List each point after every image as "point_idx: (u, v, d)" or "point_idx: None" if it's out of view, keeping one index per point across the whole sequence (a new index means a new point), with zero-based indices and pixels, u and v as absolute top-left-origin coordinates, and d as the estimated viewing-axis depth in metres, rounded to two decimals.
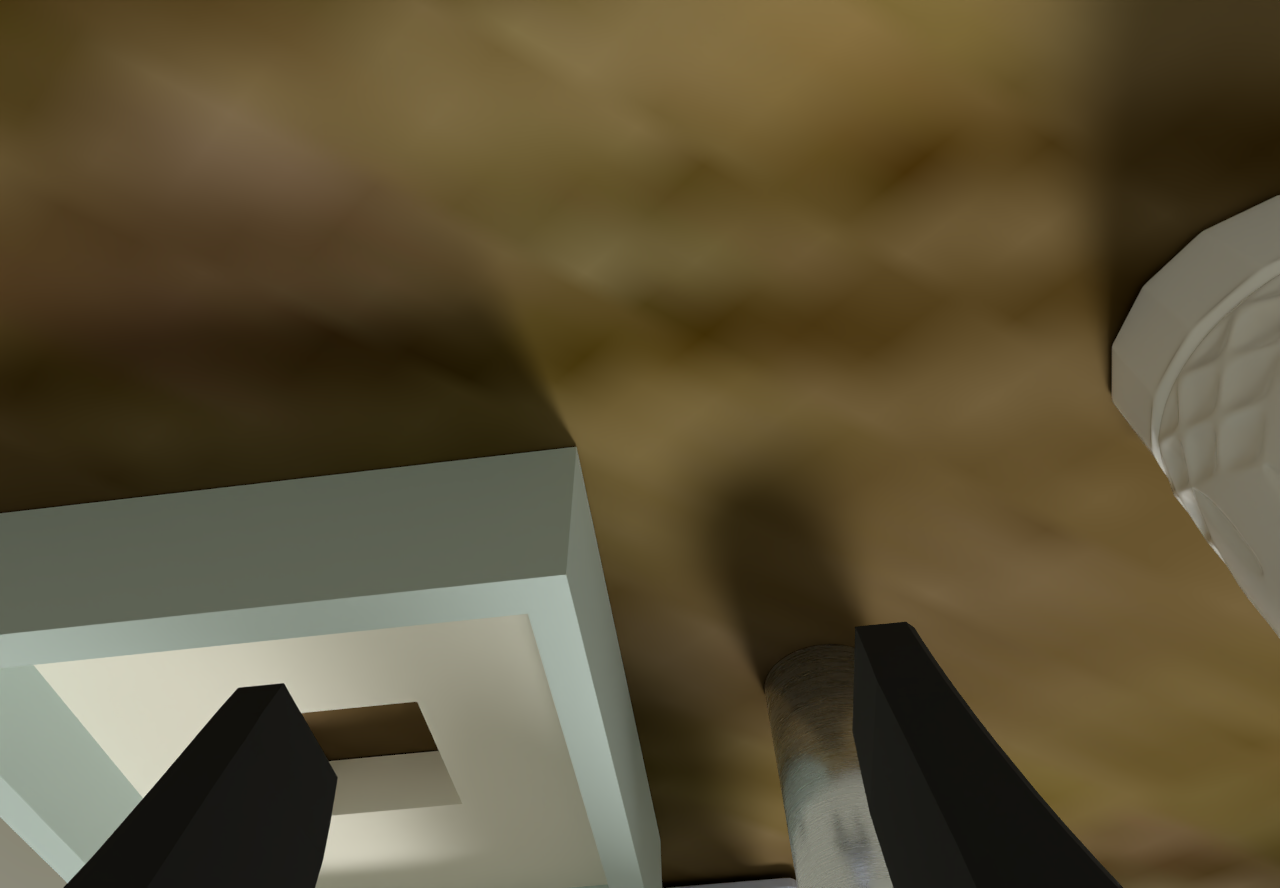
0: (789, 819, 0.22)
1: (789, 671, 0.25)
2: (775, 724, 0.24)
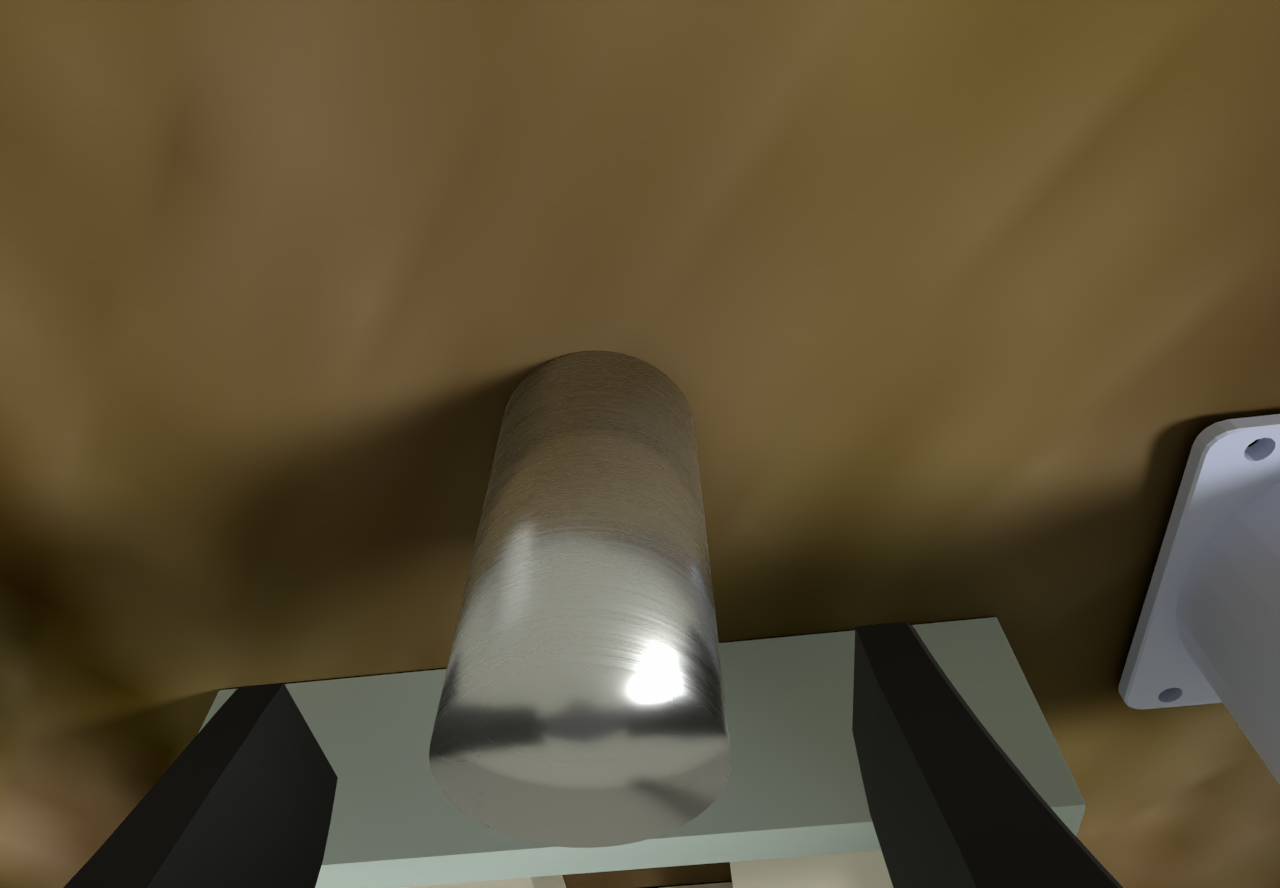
0: None
1: None
2: None
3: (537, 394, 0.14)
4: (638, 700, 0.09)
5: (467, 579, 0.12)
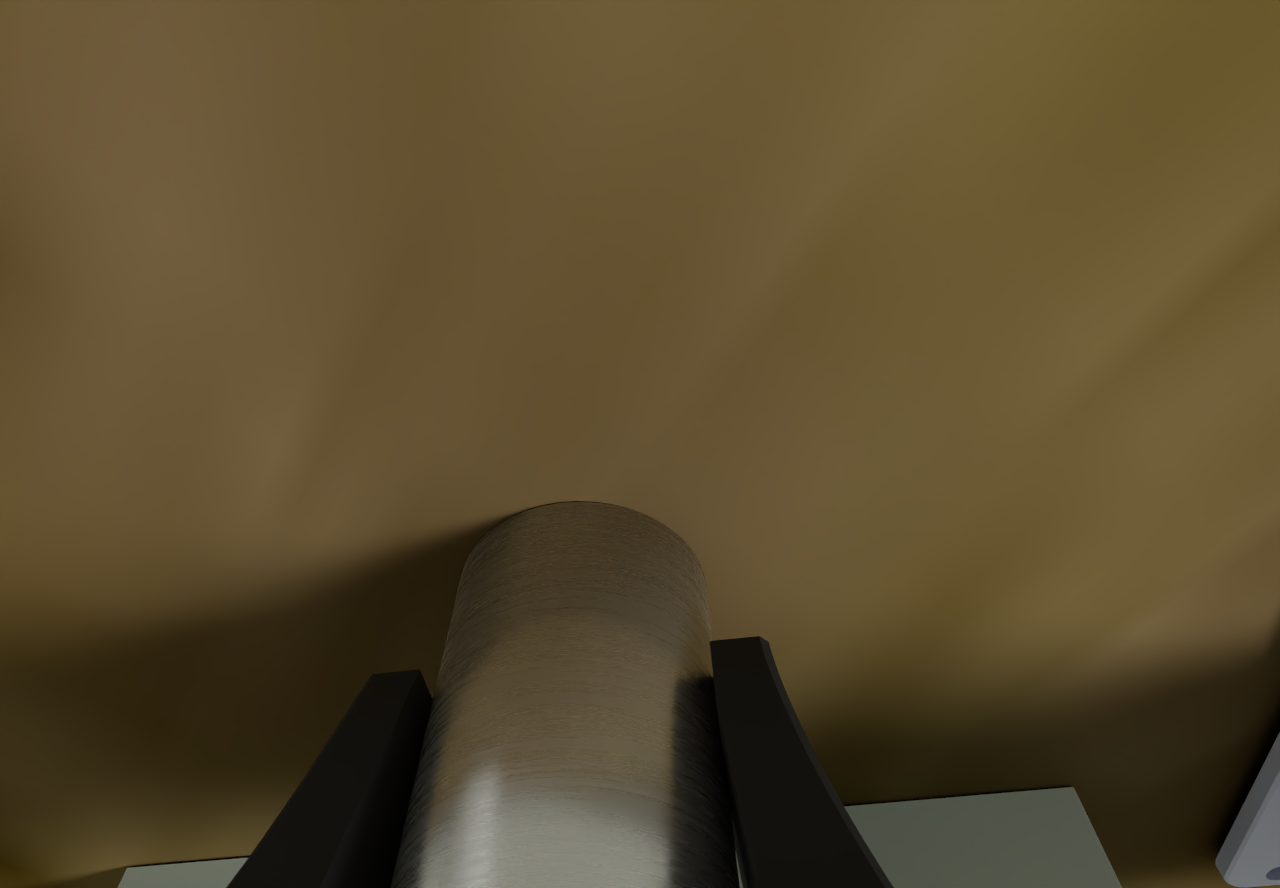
0: None
1: None
2: None
3: (500, 569, 0.11)
4: None
5: (392, 879, 0.08)
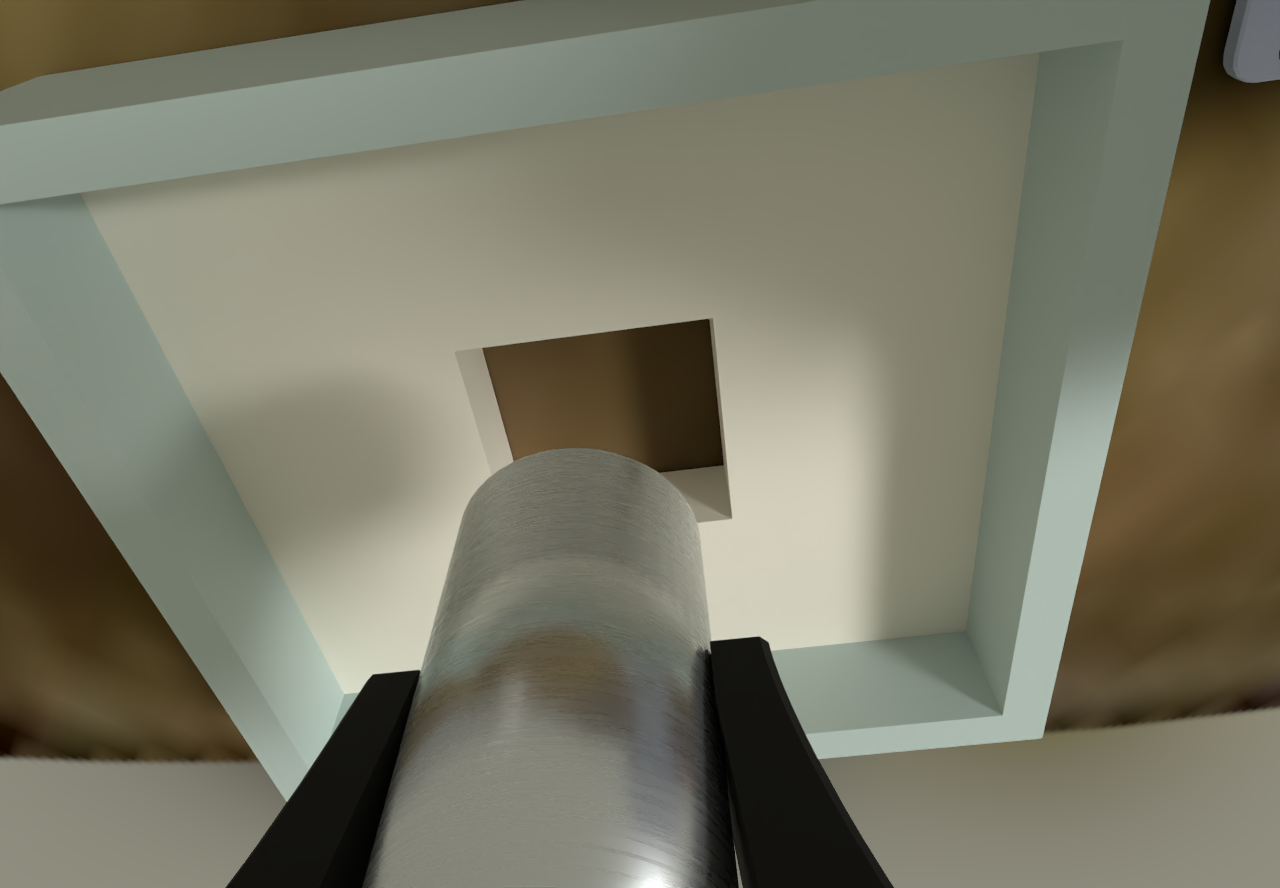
0: None
1: None
2: None
3: (500, 507, 0.11)
4: None
5: None
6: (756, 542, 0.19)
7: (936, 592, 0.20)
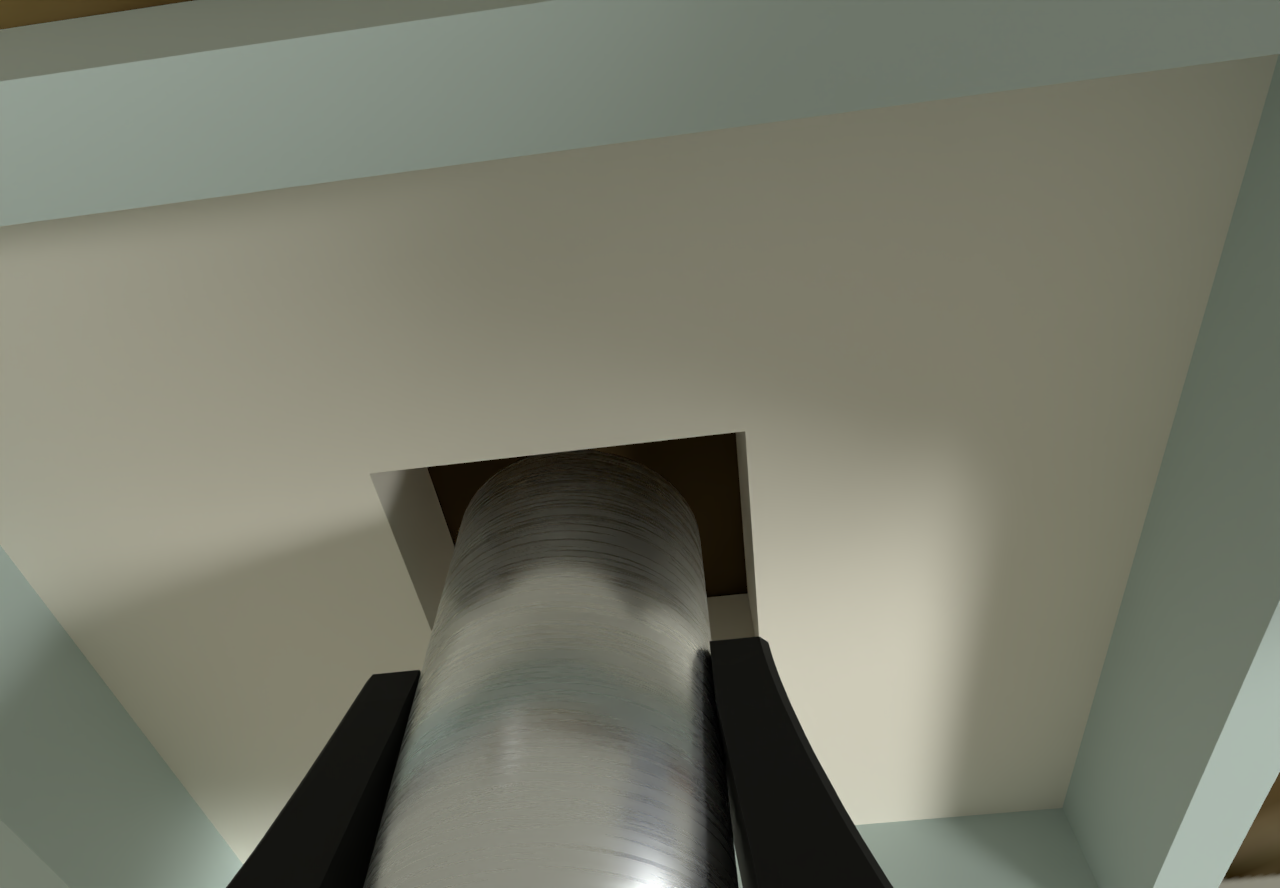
0: None
1: None
2: None
3: (500, 508, 0.11)
4: None
5: (390, 787, 0.09)
6: None
7: (1028, 765, 0.15)
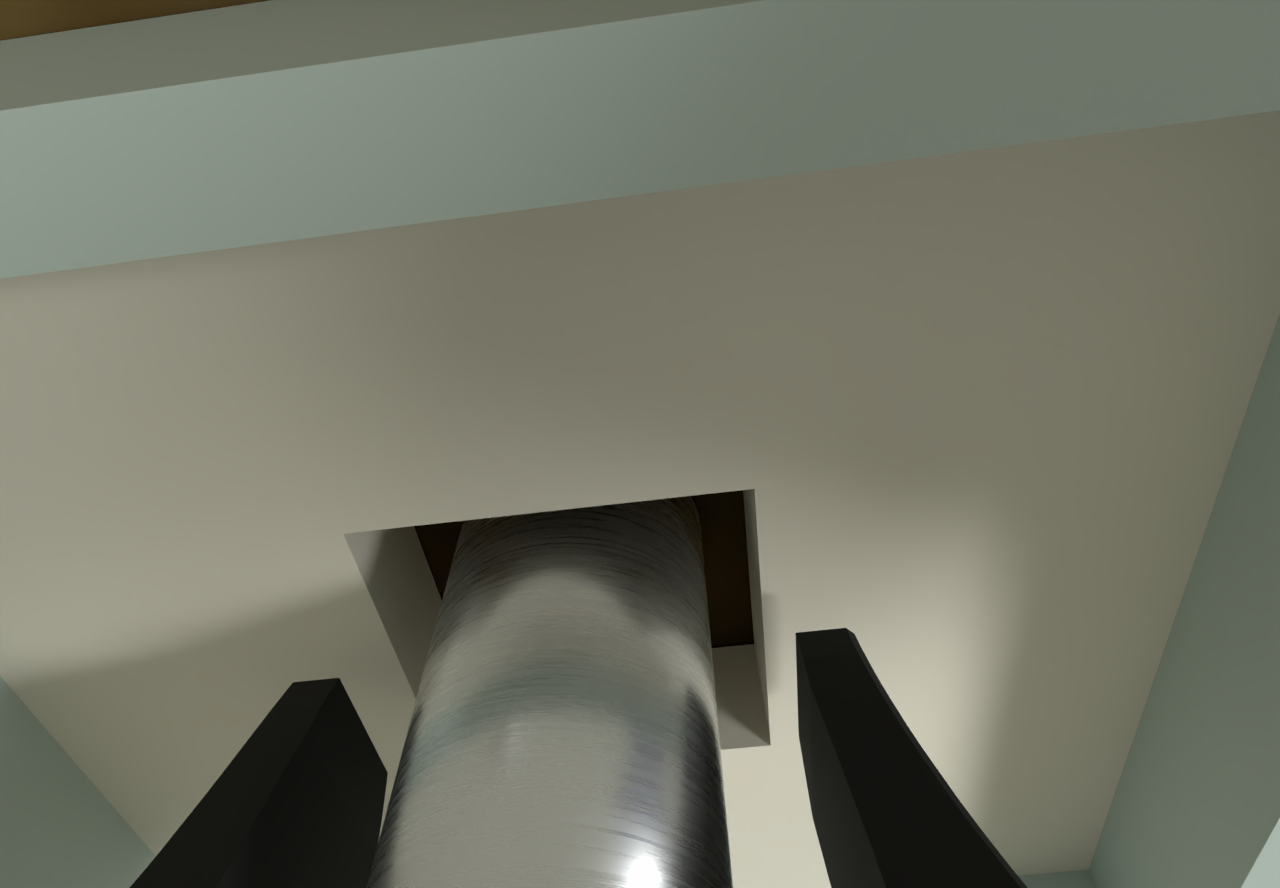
0: None
1: None
2: None
3: None
4: None
5: (399, 764, 0.09)
6: (803, 772, 0.13)
7: (1054, 828, 0.14)
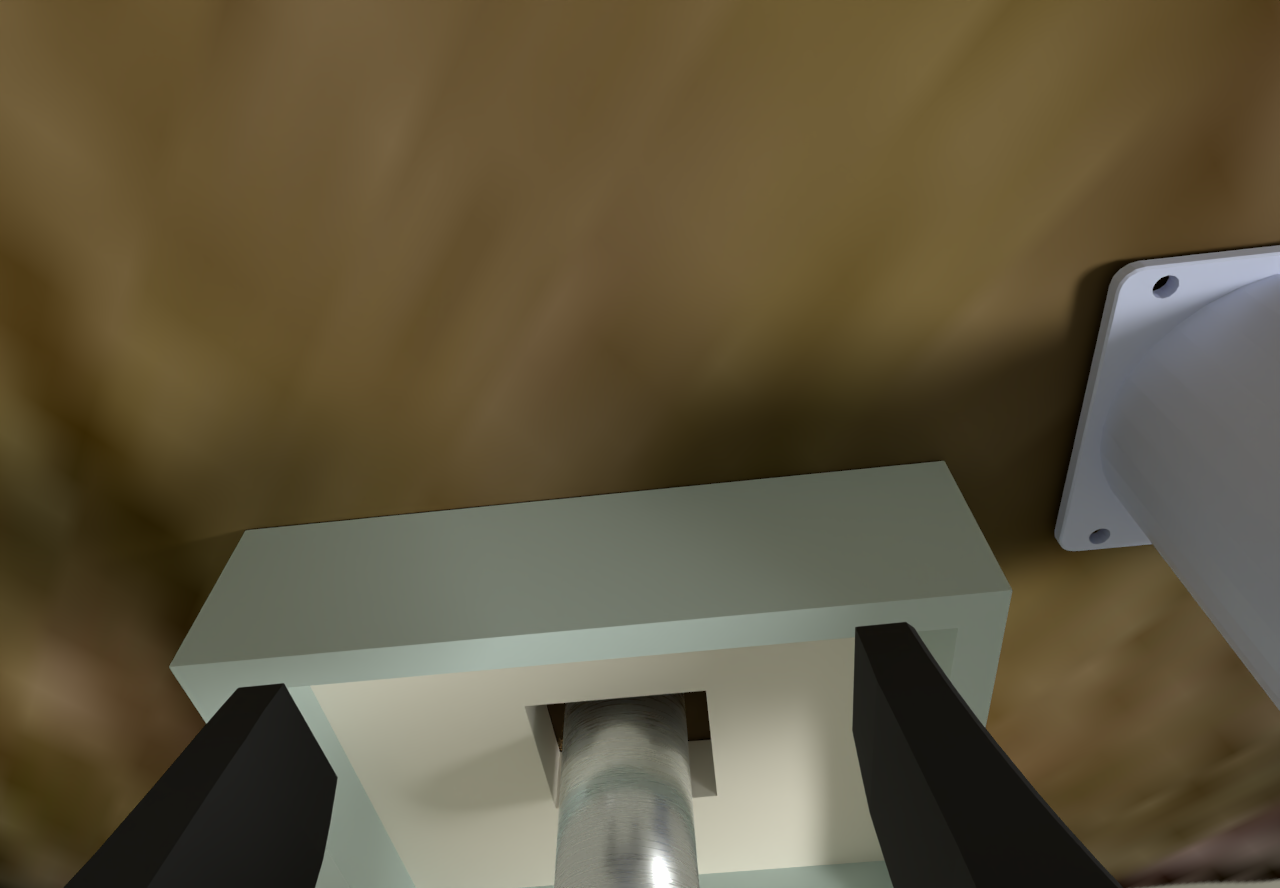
0: None
1: None
2: None
3: None
4: None
5: (561, 813, 0.22)
6: (734, 808, 0.26)
7: (867, 837, 0.27)
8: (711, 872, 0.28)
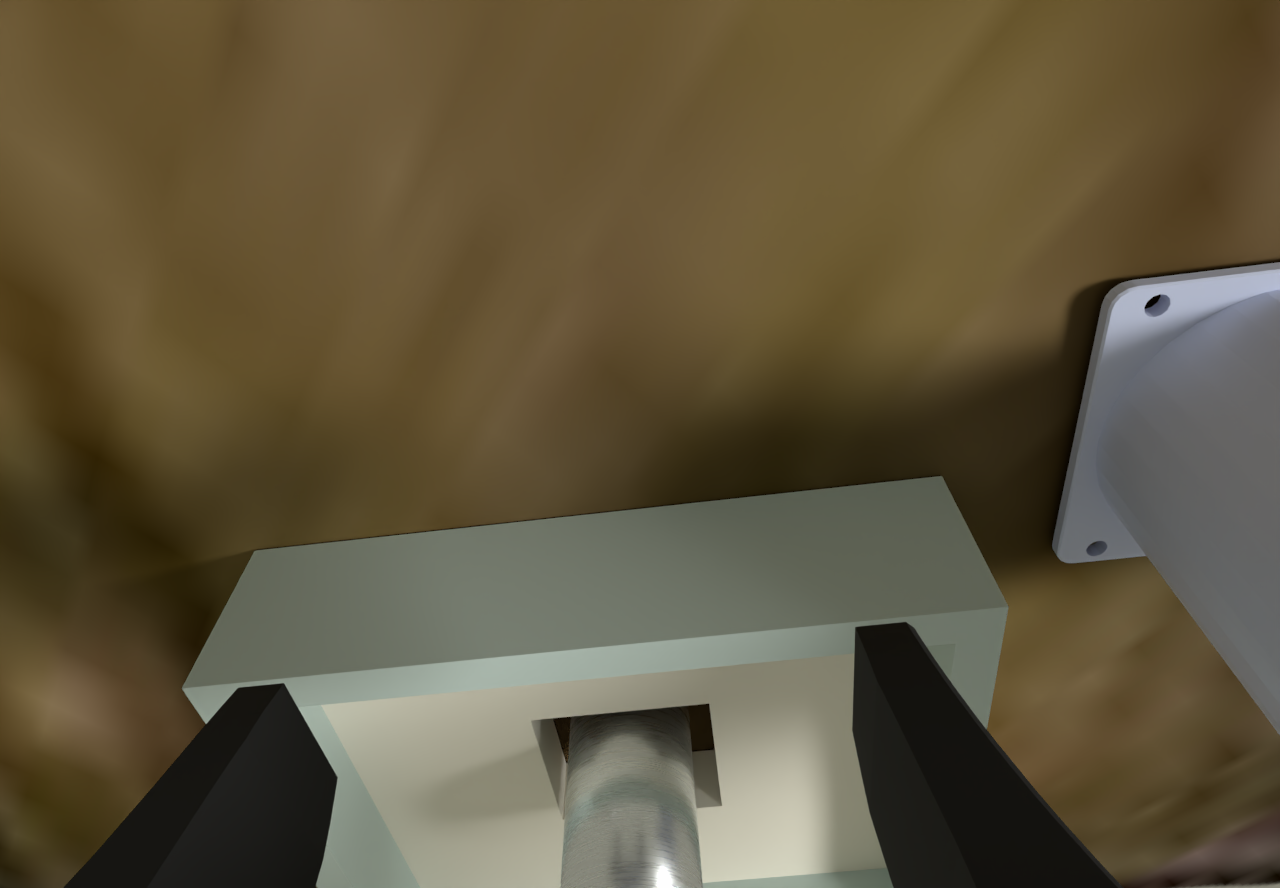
0: None
1: None
2: None
3: None
4: None
5: (567, 822, 0.22)
6: (739, 818, 0.26)
7: (871, 845, 0.27)
8: (717, 881, 0.29)
